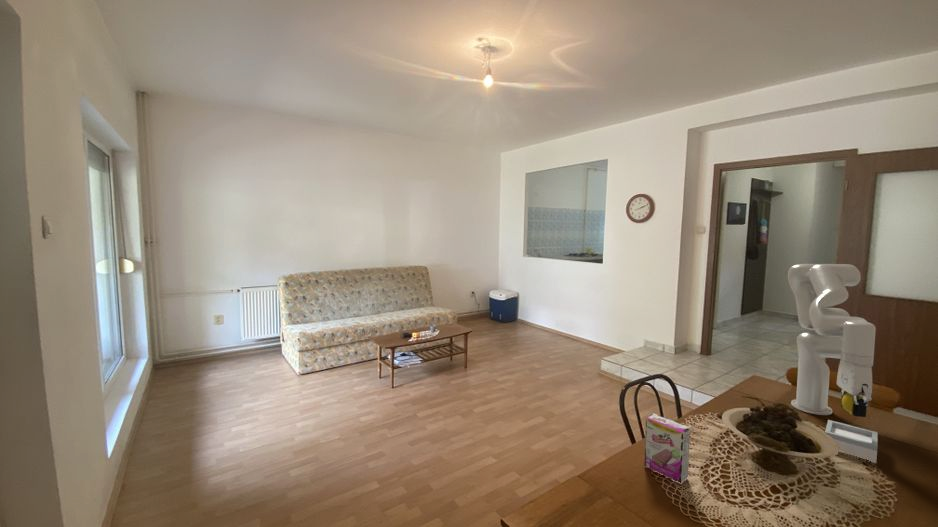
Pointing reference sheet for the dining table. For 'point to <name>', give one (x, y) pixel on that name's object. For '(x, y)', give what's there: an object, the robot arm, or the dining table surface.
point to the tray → (854, 440)
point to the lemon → (848, 402)
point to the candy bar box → (667, 447)
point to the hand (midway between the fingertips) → (853, 411)
